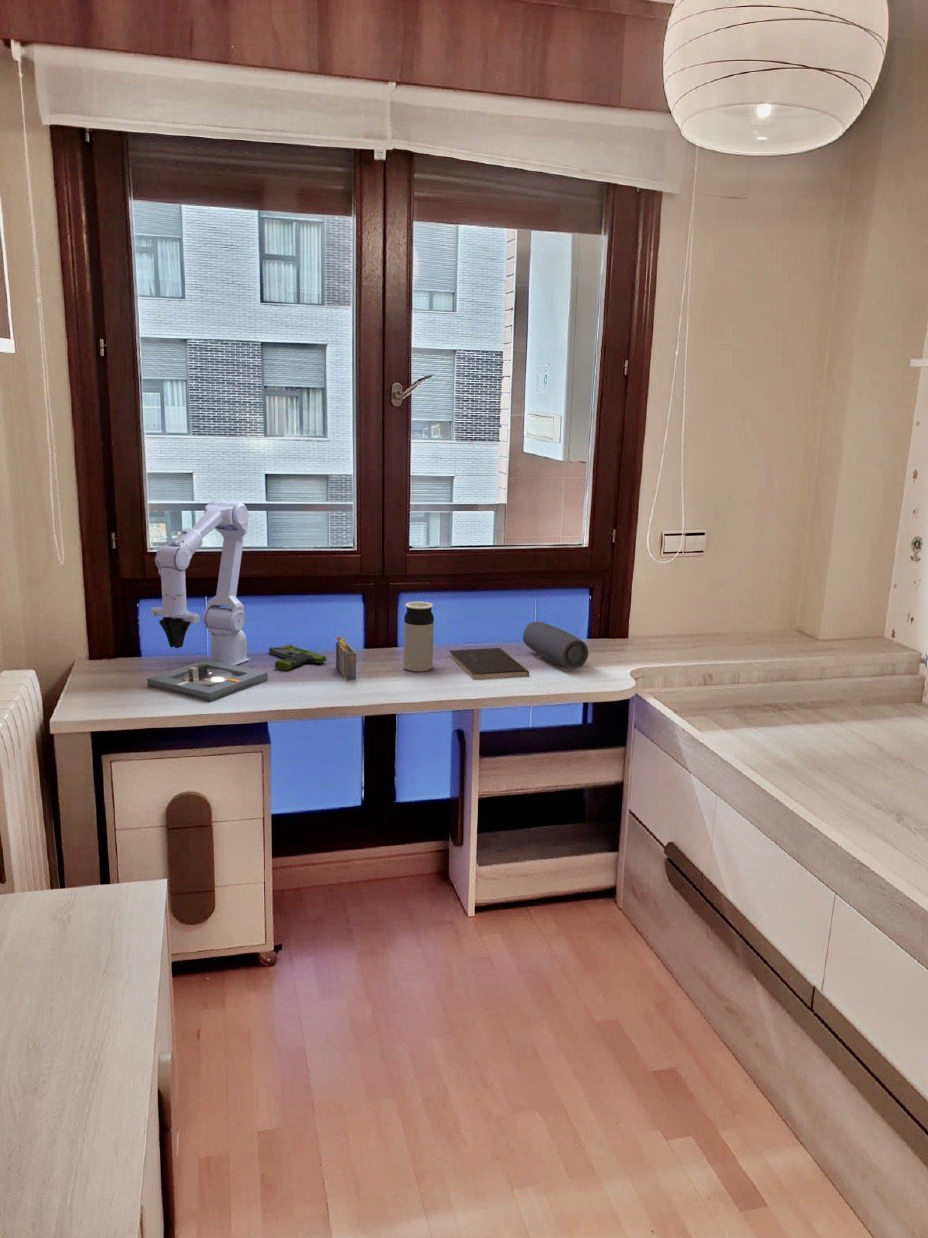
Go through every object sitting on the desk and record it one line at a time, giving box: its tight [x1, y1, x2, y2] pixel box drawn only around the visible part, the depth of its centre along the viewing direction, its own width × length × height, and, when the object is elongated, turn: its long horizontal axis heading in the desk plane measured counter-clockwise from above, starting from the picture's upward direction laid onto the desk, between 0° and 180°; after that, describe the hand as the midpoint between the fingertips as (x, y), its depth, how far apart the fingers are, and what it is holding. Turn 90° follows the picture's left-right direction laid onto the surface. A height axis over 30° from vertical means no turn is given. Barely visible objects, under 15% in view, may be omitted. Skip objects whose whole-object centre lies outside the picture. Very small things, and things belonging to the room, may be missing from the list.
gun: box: [268, 644, 328, 671], centre depth 264 cm, size 2×19×15 cm
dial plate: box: [146, 658, 269, 703], centre depth 242 cm, size 21×21×2 cm
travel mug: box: [403, 601, 435, 673], centre depth 259 cm, size 8×8×18 cm
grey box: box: [334, 635, 357, 681], centre depth 253 cm, size 11×3×10 cm, turn 21°
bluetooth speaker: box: [522, 620, 589, 670], centre depth 270 cm, size 23×9×10 cm, turn 25°
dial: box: [184, 664, 233, 687], centre depth 241 cm, size 12×12×4 cm
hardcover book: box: [449, 647, 530, 680], centre depth 265 cm, size 16×23×2 cm
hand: (176, 646), depth 238 cm, fingers closed
